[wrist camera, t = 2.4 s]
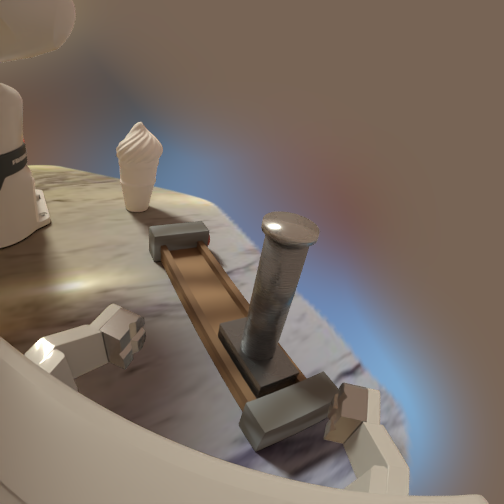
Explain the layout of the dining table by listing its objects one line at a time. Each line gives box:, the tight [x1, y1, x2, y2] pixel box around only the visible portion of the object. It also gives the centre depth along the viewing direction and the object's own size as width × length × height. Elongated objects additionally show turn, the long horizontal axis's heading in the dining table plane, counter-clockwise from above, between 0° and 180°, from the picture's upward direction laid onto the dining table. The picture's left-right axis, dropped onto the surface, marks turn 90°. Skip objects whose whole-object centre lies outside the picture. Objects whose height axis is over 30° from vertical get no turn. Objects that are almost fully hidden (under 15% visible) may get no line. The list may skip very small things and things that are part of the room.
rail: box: [149, 221, 339, 452], centre depth 35 cm, size 32×8×4 cm, turn 29°
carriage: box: [218, 212, 319, 399], centre depth 26 cm, size 8×4×15 cm, turn 29°
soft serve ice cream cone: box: [116, 122, 163, 212], centre depth 52 cm, size 8×8×16 cm
